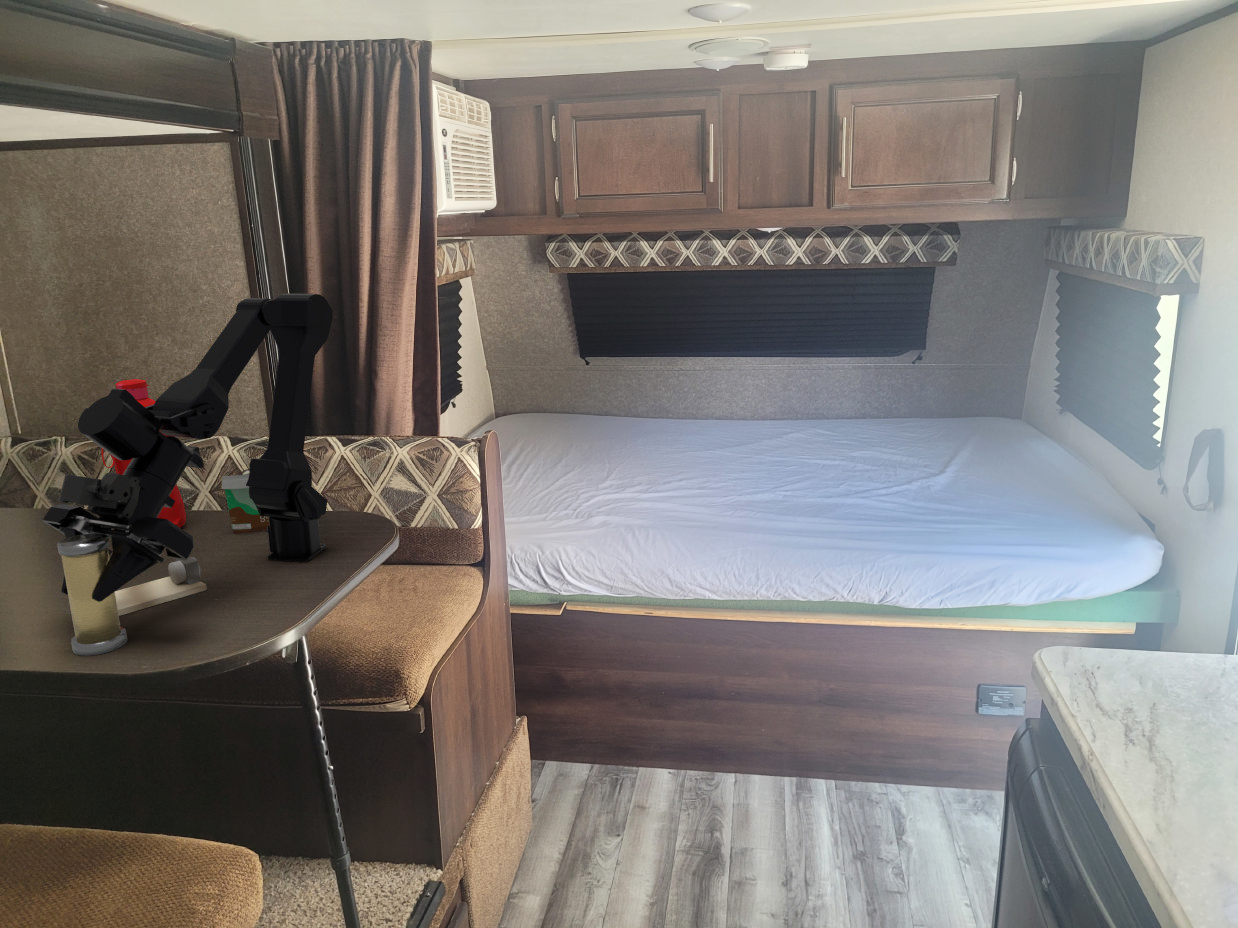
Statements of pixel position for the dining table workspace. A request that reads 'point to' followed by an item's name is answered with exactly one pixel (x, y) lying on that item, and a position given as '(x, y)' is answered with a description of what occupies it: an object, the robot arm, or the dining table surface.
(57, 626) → the dining table surface
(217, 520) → the dining table surface
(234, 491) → the food container
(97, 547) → the metal capped yellow cylinder
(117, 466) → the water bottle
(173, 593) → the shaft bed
